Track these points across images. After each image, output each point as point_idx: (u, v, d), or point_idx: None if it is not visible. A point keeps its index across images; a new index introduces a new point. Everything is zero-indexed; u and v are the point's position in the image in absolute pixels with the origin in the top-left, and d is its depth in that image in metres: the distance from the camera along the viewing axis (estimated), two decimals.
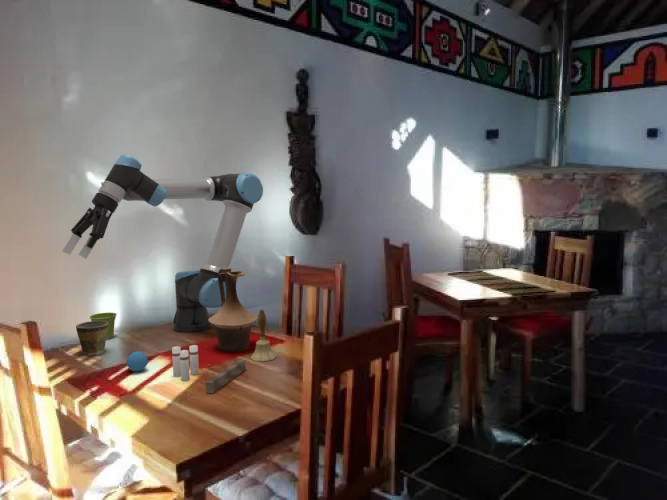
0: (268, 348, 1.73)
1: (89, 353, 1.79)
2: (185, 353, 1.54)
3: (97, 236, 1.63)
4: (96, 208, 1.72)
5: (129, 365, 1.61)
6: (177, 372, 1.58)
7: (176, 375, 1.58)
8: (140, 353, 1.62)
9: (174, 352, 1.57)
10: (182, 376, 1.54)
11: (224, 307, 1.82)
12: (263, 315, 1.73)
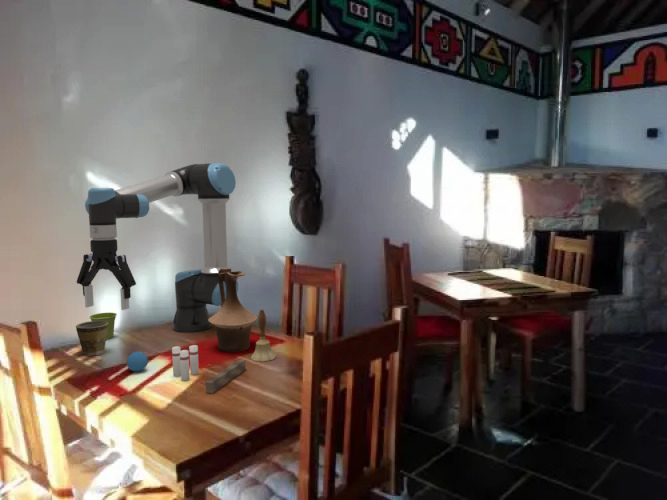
0: (268, 348, 1.73)
1: (89, 353, 1.79)
2: (185, 353, 1.54)
3: (131, 286, 1.60)
4: (99, 255, 1.62)
5: (129, 365, 1.61)
6: (177, 372, 1.58)
7: (176, 375, 1.58)
8: (140, 353, 1.62)
9: (174, 352, 1.57)
10: (182, 376, 1.54)
11: (224, 307, 1.82)
12: (263, 315, 1.73)
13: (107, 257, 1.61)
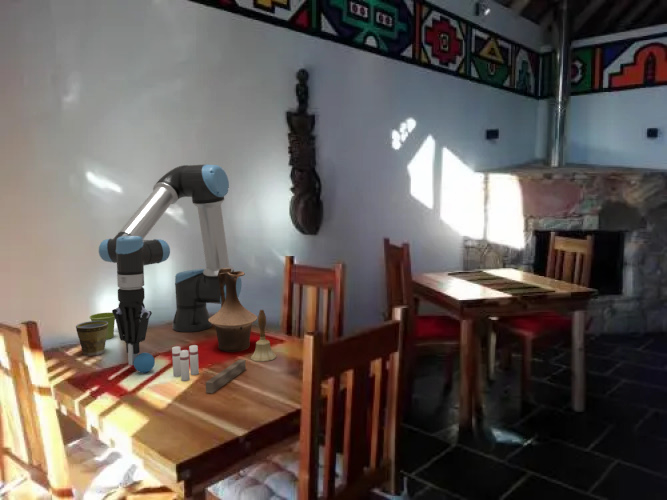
0: (268, 348, 1.73)
1: (89, 353, 1.79)
2: (185, 353, 1.54)
3: None
4: (126, 303, 1.60)
5: (136, 365, 1.59)
6: (177, 372, 1.58)
7: (176, 375, 1.58)
8: (151, 359, 1.61)
9: (174, 352, 1.57)
10: (182, 376, 1.54)
11: (224, 307, 1.82)
12: (263, 315, 1.73)
13: (135, 304, 1.59)
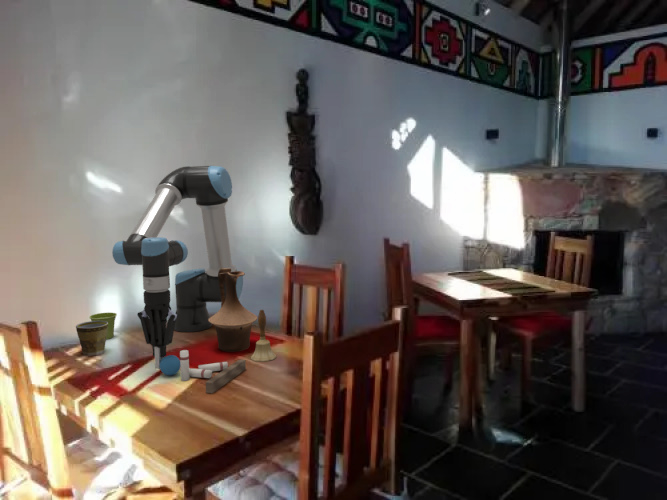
0: (268, 348, 1.73)
1: (89, 353, 1.79)
2: (185, 353, 1.54)
3: None
4: (152, 306, 1.58)
5: (162, 366, 1.57)
6: None
7: None
8: (176, 371, 1.58)
9: (204, 376, 1.55)
10: (182, 376, 1.54)
11: (224, 307, 1.82)
12: (263, 315, 1.73)
13: (162, 307, 1.57)
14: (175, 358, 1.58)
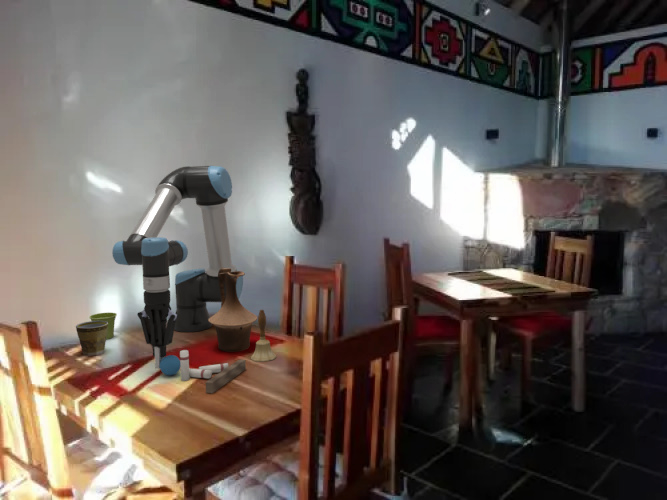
0: (268, 348, 1.73)
1: (89, 353, 1.79)
2: (185, 353, 1.54)
3: None
4: (152, 306, 1.58)
5: (162, 366, 1.57)
6: None
7: None
8: (176, 371, 1.58)
9: (204, 376, 1.55)
10: (182, 376, 1.54)
11: (224, 307, 1.82)
12: (263, 315, 1.73)
13: (162, 307, 1.57)
14: (175, 358, 1.58)
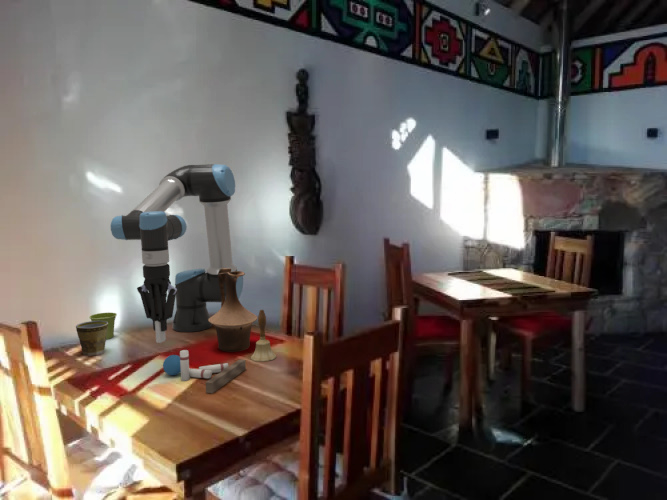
0: (268, 348, 1.73)
1: (89, 353, 1.79)
2: (185, 353, 1.54)
3: None
4: (151, 280, 1.57)
5: (165, 364, 1.57)
6: None
7: None
8: (178, 373, 1.58)
9: (204, 376, 1.55)
10: (182, 376, 1.54)
11: (224, 307, 1.82)
12: (263, 315, 1.73)
13: (161, 281, 1.56)
14: None
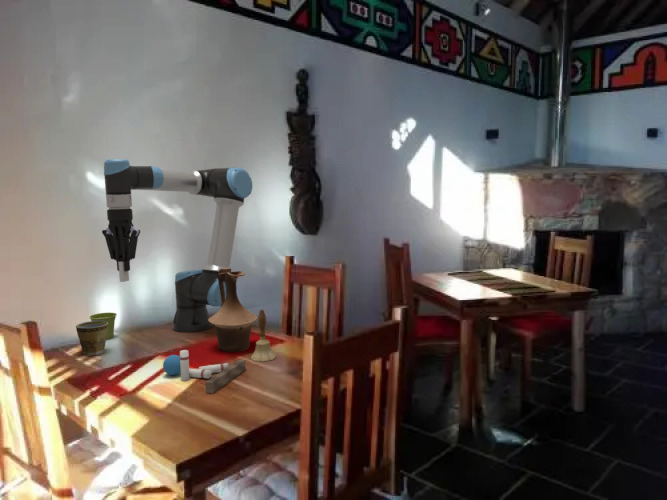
0: (268, 348, 1.73)
1: (89, 353, 1.79)
2: (185, 353, 1.54)
3: None
4: (115, 223, 1.70)
5: (165, 364, 1.57)
6: None
7: None
8: (178, 373, 1.58)
9: (204, 376, 1.55)
10: (182, 376, 1.54)
11: (224, 307, 1.82)
12: (263, 315, 1.73)
13: (124, 223, 1.69)
14: None
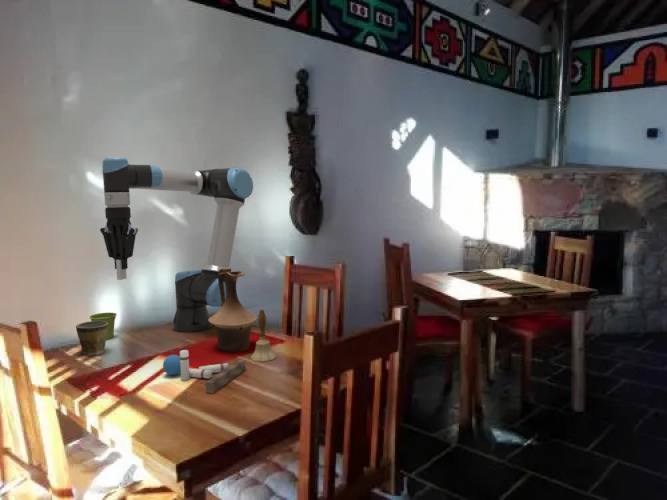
0: (268, 348, 1.73)
1: (89, 353, 1.79)
2: (185, 353, 1.54)
3: None
4: (113, 221, 1.70)
5: (165, 364, 1.57)
6: None
7: None
8: (178, 373, 1.58)
9: (204, 376, 1.55)
10: (182, 376, 1.54)
11: (224, 307, 1.82)
12: (263, 315, 1.73)
13: (122, 222, 1.69)
14: None
